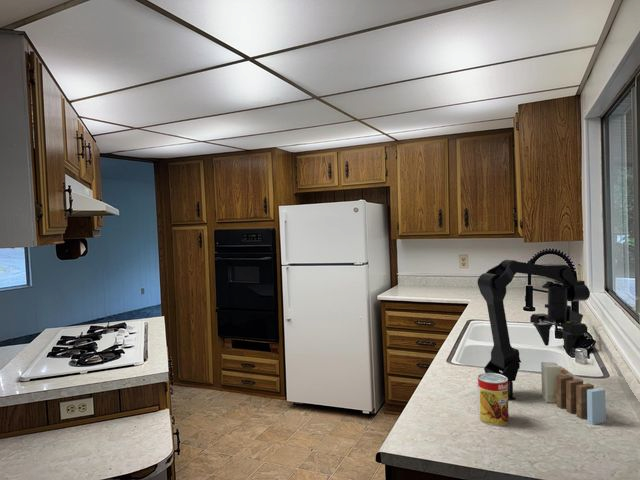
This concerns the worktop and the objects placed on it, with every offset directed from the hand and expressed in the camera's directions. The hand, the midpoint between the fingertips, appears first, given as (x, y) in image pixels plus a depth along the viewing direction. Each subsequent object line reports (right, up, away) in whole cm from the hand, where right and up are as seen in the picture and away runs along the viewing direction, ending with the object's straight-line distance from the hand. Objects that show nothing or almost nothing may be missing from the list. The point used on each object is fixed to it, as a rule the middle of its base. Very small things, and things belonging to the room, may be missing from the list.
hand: (557, 349), depth 143 cm
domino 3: (-4, -14, -21) cm, 25 cm away
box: (-7, -14, -9) cm, 18 cm away
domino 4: (-3, -14, -24) cm, 28 cm away
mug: (+4, -13, +1) cm, 14 cm away
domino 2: (-4, -14, -17) cm, 23 cm away
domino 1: (-5, -14, -14) cm, 20 cm away
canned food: (-29, -15, -21) cm, 39 cm away
